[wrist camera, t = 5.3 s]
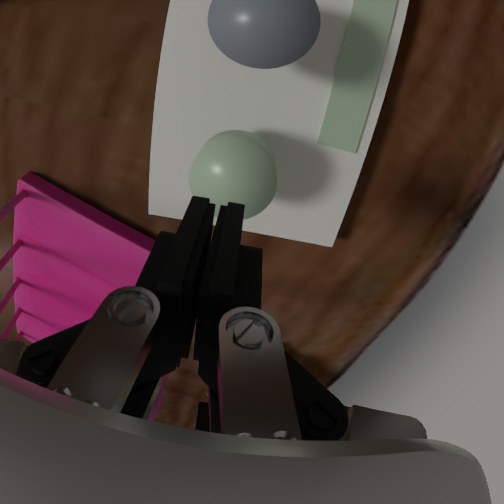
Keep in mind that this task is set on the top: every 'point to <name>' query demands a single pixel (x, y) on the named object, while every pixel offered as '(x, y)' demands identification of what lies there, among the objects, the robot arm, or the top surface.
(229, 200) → the pale green rounded piece
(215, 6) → the grey rounded piece
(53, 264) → the file sorter
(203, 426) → the ink cartridge
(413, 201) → the top surface
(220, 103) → the button panel
